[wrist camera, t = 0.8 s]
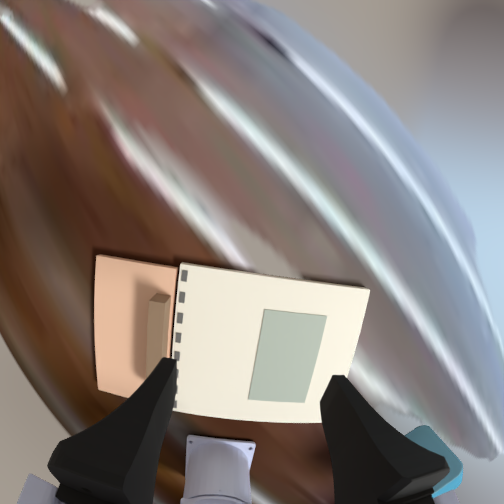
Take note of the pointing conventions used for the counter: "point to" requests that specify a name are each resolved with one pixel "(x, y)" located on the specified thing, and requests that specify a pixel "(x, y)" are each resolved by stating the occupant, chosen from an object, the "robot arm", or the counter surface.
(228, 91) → the counter surface
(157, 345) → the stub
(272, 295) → the board
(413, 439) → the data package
